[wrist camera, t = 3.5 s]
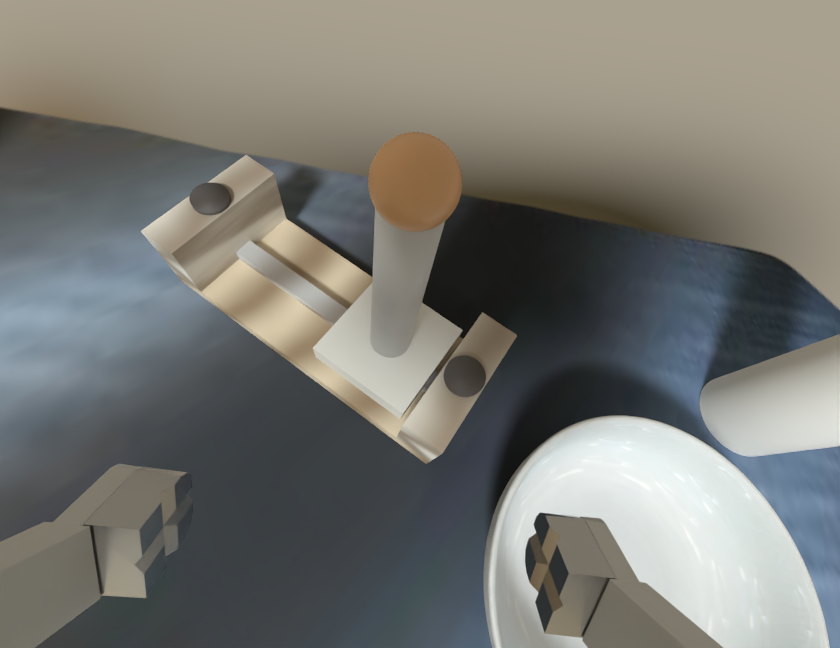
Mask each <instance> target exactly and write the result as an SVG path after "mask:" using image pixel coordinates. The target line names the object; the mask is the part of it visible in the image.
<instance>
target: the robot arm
mask: <svg viewBox="0 0 840 648" xmlns="http://www.w3.org/2000/svg"><path fill="white" fill-rule="evenodd" d="M191 488H192V479H191V475H190V474H188V473H185V472H178V471H171V470H164V469H156V468H149V467H138V466H131V465H124V464H118V465H115V466H113V467H111V468H110V469H109V470H108V471H107V472H105V473H104V474H103V475H102V476H101V477H100V478H99V479H98V480H97V481H96V482H95V483H94V484H93V485H92V486H91V487H90V488H89V489H88V490H86V491H85V492H84V493H83V494H82V495H81V496H80V497H79V498H78V499H77V500H76V501H75V502H74V503H73V504H72V505H71V506H70V507H68V508H67V509H66V510H65V511H64V512H63V513H62V514H61V515H60V516H59V517H58V518H57V519H56V520H55V521H54V522H43V523H41V524H39V525H37V526H34V527H32V528H30V529H28V530H26V531H23V532H21V533H19V534H17V535H15V536H13V537H10V538H8V539H6V540H4V541H2V542H0V648H35V647H36V646H37V645H39V644H40V643H41V642H43V641H44V640H45V639H47V638H48V637H49V636H51V635H52V634H53V633H55V632H56V631H57V630H59V629H60V628H61V627H63V626H64V625H66V624H67V623H68V622H70V621H71V620H72V619H74V618H75V617H76V616H78V615H79V614H80V613H82V612H83V611H84V610H86V609H87V608H88V607H90V606H91V605H92V604H94V603H95V602H96V601H98V600H99V599H100V598H101V595H103V596H121V597H138V598H147V596H148V595H149V593H150V591H151V590H152V588H153V587H154V585H155V584H156V582H157V581H158V579H159V577H160V576H161V574H162V573H163V571H164V570H165V568H166V556H167V555H168V554H170V553H171V552H173V551H174V550H176V549H177V548H179V546H180V544H181V543H182V541H183V539H184V538H185V536H186V534H187V531H188V529H189V526H190V523H191V520H192V514H193V502H192V501H191V500H190V498H189V497H188V496H187V493H188V492H189V491H190V489H191ZM533 525H534V527H535V530H536V533H535V534H534V535H533V536H531V537H530V538H529V539H528V542H527V546H526V549H525V566H526V572H527V576H528V579H529V583H530V584H531V585H532V586H533V587H534V588H535V589H536V590H537V591H538V596H537V598H536V601H535V603H536V607H537V610H538V613H539V617H540V620H541V623H542V626H543V630H544V633H545V634H553V635H562V636H570V637H578V638H583V639H582V641H583V642H584V644H585V645H586V646H587V647H588V648H723V647H722V646H721V645H720V644H718V643H717V642H716V641H715V640H714V639H713V638H711V637H710V636H709V635H708V634H707V633H705V632H704V631H703V630H702V629H701V628H699V627H698V626H697V625H696V624H695V623H693V622H692V621H691V620H690V619H689V618H688V617H686V616H685V615H684V614H683V613H682V612H680V611H679V610H678V609H677V608H676V607H674V606H673V605H672V604H671V603H670V602H668V601H667V600H666V599H665V598H664V597H663V596H661V595H660V594H659V593H658V592H657V591H655V590H654V589H653V588H652V587H651V586H649V585H648V584H647V583H644V582H639V580H638V578H637V576H636V575H635V573H634V571H633V569H632V568H631V566H630V564H629V563H628V561H627V559H626V557H625V556H624V554H623V552H622V550H621V549H620V547H619V545H618V544H617V542H616V540H615V538H614V537H613V535H612V533H611V531H610V530H609V528H608V526H607V524H606V523H605V522H604V521H603V520H602V519H601V518H591V517H578V516H570V515H560V514H550V513H539V514H538V515H537V516H536V519H535V522H534V524H533Z"/></svg>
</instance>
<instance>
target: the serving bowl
mask: <svg viewBox="0 0 840 648" xmlns="http://www.w3.org/2000/svg"><path fill="white" fill-rule="evenodd" d="M539 513H550V514H560V515H570V516H578V517H591V518H601V519H602V520H603V521H604V522H605V523H606V524H607V526H608V528H609V530H610V531H611V533H612V535H613V537H614V538H615V540H616V542H617V544H618V545H619V547H620V549H621V550H622V552H623V554H624V556H625V557H626V559H627V561H628V563H629V564H630V566H631V568H632V569H633V571H634V573H635V575H636V576H637V578H638V580H639V582H644V583H647V584H648V585H649V586H651V587H652V588H653V589H654V590H655V591H657V592H658V593H659V594H660V595H661V596H663V597H664V598H665V599H666V600H667V601H668V602H670V603H671V604H672V605H673V606H674V607H676V608H677V609H678V610H679V611H680V612H682V613H683V614H684V615H685V616H686V617H688V618H689V619H690V620H691V621H692V622H693V623H695V624H696V625H697V626H698V627H699V628H701V629H702V630H703V631H704V632H705V633H707V634H708V635H709V636H710V637H711V638H713V639H714V640H715V641H716V642H717V643H718V644H720V645H721V646H722V647H723V648H830V647H829V640H828V634H827V630H826V625H825V620H824V617H823V613H822V609H821V605H820V602H819V599H818V596H817V593H816V591H815V588H814V585H813V582H812V579H811V577H810V575H809V572H808V570H807V567H806V565H805V563H804V561H803V559H802V557H801V555H800V553H799V551H798V549H797V547H796V545H795V543H794V541H793V539H792V537H791V536H790V534H789V533H788V531H787V529H786V528H785V526H784V524H783V523H782V521H781V520H780V518H779V517H778V515H777V514H776V512H775V511H774V510H773V508H772V507H771V506H770V504H769V503H768V502H767V500H766V499H765V498H764V496H763V495H762V494H761V493H760V492H759V490H758V489H757V488H756V487H755V486H754V485H753V484H752V482H751V481H750V480H749V479H748V478H747V477H746V476H745V475H744V474H743V473H742V472H741V471H740V470H739V469H738V468H737V467H736V466H734V465H733V464H732V463H731V462H730V461H729V460H727V459H726V458H725V457H724V456H722V455H721V454H720V453H719V452H717V451H716V450H714V449H713V448H712V447H710V446H709V445H707V444H706V443H704V442H703V441H701V440H699V439H698V438H696V437H694V436H692V435H690V434H689V433H686V432H684V431H682V430H680V429H678V428H675V427H673V426H671V425H668V424H665V423H662V422H659V421H655V420H652V419H647V418H643V417H635V416H626V415H612V416H602V417H596V418H591V419H587V420H584V421H581V422H578V423H575V424H573V425H570V426H568V427H566V428H564V429H562V430H561V431H559V432H557V433H556V434H554V435H553V436H551V437H550V438H548V439H547V440H546V441H545V442H543V443H542V444H541V445H540V446H538V447H537V448H536V449H535V450H534V451H533V452H532V453H531V454H530V455H529V456H528V457H527V458H526V459H525V460H524V461H523V462H522V464H521V465H520V466H519V467H518V469H517V470H516V471H515V473H514V474H513V475H512V477H511V479H510V480H509V482H508V483H507V485H506V487H505V489H504V491H503V493H502V495H501V497H500V499H499V501H498V503H497V506H496V509H495V512H494V514H493V518H492V521H491V525H490V528H489V533H488V537H487V543H486V549H485V559H484V579H483V585H484V602H485V611H486V618H487V625H488V630H489V635H490V640H491V644H492V648H588V647H587V646H586V645H585V644H584V642H583V641H582V639H583V638H578V637H570V636H562V635H553V634H545V633H544V630H543V626H542V623H541V620H540V617H539V613H538V610H537V607H536V603H535V601H536V598H537V596H538V591H537V590H536V589H535V588H534V587H533V586H532V585H531V584H530V583H529V579H528V576H527V572H526V566H525V549H526V546H527V542H528V539H529V538H530V537H531V536H533V535H534V534H535V533H536V530H535V527H534V525H533V524H534V522H535V519H536V516H537V515H538V514H539Z"/></svg>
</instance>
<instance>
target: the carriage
mask: <svg viewBox="0 0 840 648" xmlns="http://www.w3.org/2000/svg"><path fill="white" fill-rule="evenodd" d="M368 185H369V193H370V197H371V200H372V202H373V205H374V207H375V226H374V253H373V279H372V283H371V285H370V286H369V287H368V288H367V289H366V290H365V291H364V292H363V293H362V294H361V296H360V297H359V298H358V299H357V300H356V301H355V302H354V303H353V304H352V305H351V306H350V308H349V309H348V310H347V311H346V312H345V313H344V314H343V315H342V316H341V317H340V319H339V320H338V321H337V322H336V323H335V324H334V325H333V326H332V327H331V328H330V330H329V331H328V332H327V333H326V334H325V335H324V336H323V337H322V338H321V339H320V340H319V342H318V343H317V344H316V345H315V346H314V347H313V351H314V354H315V357H316V358H317V359H319V360H320V361H321V362H323V363H324V364H325V365H327V366H328V367H329V368H331V369H332V370H334V371H335V372H336V373H338V374H339V375H340V376H342V377H343V378H344V379H346V380H347V381H348V382H350V383H351V384H353V385H354V386H355V387H357V388H358V389H359V390H361V391H362V392H363V393H365V394H366V395H367V396H369V397H370V398H372V399H373V400H374V401H376V402H377V403H378V404H380V405H381V406H382V407H384V408H385V409H386V410H388V411H389V412H391V413H392V414H393V415H395V416H396V417H397V418H399V419H401V418H402V416H403V415H404V414H405V412H406V411H407V409H408V408H409V407H410V405H411V404H412V403H413V401H414V400H415V398H416V397H417V396H418V394H419V393H420V391H421V390H422V389H423V387H424V386H425V384H426V383H427V382H428V380H429V379H430V377H431V376H432V375H433V373H434V372H435V370H436V369H437V368H438V366H439V365H440V363H441V362H442V361H443V359H444V358H445V356H446V355H447V354H448V352H449V351H450V349H451V348H452V347H453V345H454V344H455V342H456V341H457V340H458V338H459V336H460V334H461V333H462V331H463V330H462V329H460V328H459V327H457V326H456V325H454V324H453V323H451V322H450V321H448V320H447V319H446V318H444V317H443V316H441V315H440V314H438V313H437V312H435V311H434V310H432V309H431V308H429V307H428V306H426V305H425V304H423V303H422V300H423V297H424V293H425V290H426V286H427V283H428V279H429V276H430V272H431V269H432V265H433V262H434V258H435V255H436V251H437V248H438V244H439V241H440V237H441V234H442V230H443V227H444V223H445V220H446V219H447V218H448V217H449V216H450V215H451V214H452V213H453V211H454V210H455V208H456V206H457V204H458V202H459V199H460V196H461V191H462V174H461V169H460V166H459V163H458V160H457V159H456V157H455V155H454V153H453V152H452V150H450V148H449V147H448V146H447V145H446V144H445V143H444V142H443V141H441V140H440V139H438V138H436V137H434V136H432V135H429V134H426V133H420V132H410V133H405V134H401V135H398V136H396V137H394V138H392V139H391V140H389V141H388V142H387V143H385V144H384V145H383V146H382V147H381V148H380V150H379V151H378V152H377V154H376V155H375V157H374V160H373V161H372V164H371V167H370V171H369V178H368Z"/></svg>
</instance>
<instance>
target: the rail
mask: <svg viewBox="0 0 840 648" xmlns="http://www.w3.org/2000/svg"><path fill="white" fill-rule="evenodd" d="M141 232H142V233H143V234H144V235H145V237H146V238H147V239H148V240H149V242H150V243H151V244H152V245H153V246H154V248H155V249H156V250H157V251H158V253H159V254H160V255H161V256H162V257H163V259H164V260H165V261H166V262H167V264H168V265H169V266H170V267H171V268H172V270H173V271H174V272H175V273H176V275H177V276H178V277H179V278H180V279H181V281H182V282H184V283H185V284H186V285H188V286H189V287H190V288H192V289H193V290H194V291H196V292H197V293H198V294H200V295H201V296H202V297H204V298H205V299H206V300H208V301H209V302H210V303H212V304H213V305H214V306H216V307H217V308H218V309H220V310H221V311H222V312H224V313H225V314H226V315H228V316H229V317H230V318H232V319H233V320H234V321H236V322H237V323H238V324H240V325H241V326H242V327H244V328H245V329H246V330H248V331H249V332H250V333H252V334H253V335H254V336H256V337H257V338H258V339H260V340H261V341H262V342H264V343H265V344H266V345H268V346H269V347H270V348H272V349H273V350H274V351H276V352H277V353H278V354H280V355H281V356H283V357H284V358H285V359H287V360H288V361H289V362H291V363H292V364H293V365H295V366H296V367H297V368H299V369H300V370H301V371H303V372H304V373H305V374H307V375H308V376H309V377H311V378H312V379H313V380H315V381H316V382H317V383H319V384H320V385H321V386H323V387H324V388H325V389H327V390H328V391H329V392H331V393H332V394H333V395H335V396H336V397H337V398H339V399H340V400H341V401H343V402H344V403H345V404H347V405H348V406H349V407H351V408H352V409H353V410H355V411H356V412H357V413H359V414H360V415H361V416H363V417H364V418H365V419H367V420H368V421H369V422H371V423H372V424H373V425H375V426H376V427H377V428H379V429H380V430H381V431H383V432H384V433H385V434H387V435H388V436H389V437H391V438H392V439H393V440H395V441H396V442H397V443H399V444H400V445H401V446H403V447H404V448H405V449H407V450H408V451H410V452H411V453H412V454H414V455H415V456H416V457H418V458H419V459H420V460H422V461H423V462H424V463H426V464H427V463H428V462H430V461H431V460H433V459H435V458H436V457H438V456H439V455H441V454H442V453H443V452H444V450H445V448H446V447H447V445H448V444H449V442H450V441H451V439H452V437H453V436H454V434H455V433H456V431H457V430H458V428H459V426H460V425H461V423H462V422H463V420H464V419H465V417H466V415H467V414H468V412H469V411H470V409H471V407H472V406H473V404H474V403H475V401H476V400H477V398H478V396H479V395H480V393H481V392H482V390H483V389H484V387H485V385H486V384H487V382H488V381H489V379H490V378H491V376H492V374H493V373H494V371H495V370H496V368H497V367H498V365H499V363H500V362H501V360H502V359H503V357H504V355H505V354H506V352H507V351H508V349H509V348H510V346H511V344H512V343H513V341H514V340H515V338H516V337H517V335H516V334H514V333H513V332H511V331H510V330H508V329H507V328H505V327H504V326H502V325H501V324H499V323H498V322H496V321H495V320H493V319H492V318H490V317H489V316H487V315H486V314H484V313H483V312H482V314H481V315H480V316H479V318H478V319H477V321H476V322H475V323H474V325H473V326H472V328H471V329H470V330H469V332H468V333H467V335H466V336H465V338H464V339H462V338H461V337H459V338H458V340H457V341H456V342H455V344H454V345H453V347H452V348H451V349H450V351H449V352H448V354H447V355H446V356H445V358H444V359H443V361H442V362H441V363H440V365H439V366H438V368H437V369H436V370H435V372H434V373H433V375H432V376H431V377H430V379H429V380H428V382H427V383H426V384H425V386H424V387H423V389H422V390H421V391H420V393H419V394H418V396H417V397H416V398H415V400H414V401H413V403H412V404H411V405H410V407H409V408H408V409H407V411H406V412H405V414H404V415H403V416H402V418H401V419H399V418H397V417H396V416H395V415H393V414H392V413H391V412H389V411H388V410H386V409H385V408H384V407H382V406H381V405H380V404H378V403H377V402H376V401H374V400H373V399H372V398H370V397H369V396H367V395H366V394H365V393H363V392H362V391H361V390H359V389H358V388H357V387H355V386H354V385H353V384H351V383H350V382H348V381H347V380H346V379H344V378H343V377H342V376H340V375H339V374H338V373H336V372H335V371H334V370H332V369H331V368H329V367H328V366H327V365H325V364H324V363H323V362H321V361H320V360H319V359H317V358H316V357H315V354H314V351H313V347H314V346H315V345H316V344H317V343H318V342H319V340H320V339H321V338H322V337H323V336H324V335H325V334H326V333H327V332H328V331H329V330H330V328H331V327H332V326H333V325H334V324H335V323H336V322H337V321H338V320H339V319H340V317H341V316H342V315H343V314H344V313H345V312H346V311H347V310H348V309H349V308H350V306H351V305H352V304H353V303H354V302H355V301H356V300H357V299H358V298H359V297H360V296H361V294H362V293H363V292H364V291H365V290H366V289H367V288H368V287H369V286H370V285H371V283H372V279H373V277H371V276H370V275H368V274H367V273H365V272H364V271H362V270H361V269H359V268H358V267H357V266H355V265H354V264H352V263H351V262H349V261H348V260H346V259H345V258H343V257H342V256H340V255H339V254H337V253H336V252H335V251H333V250H332V249H330V248H329V247H327V246H326V245H324V244H323V243H321V242H320V241H318V240H317V239H315V238H314V237H313V236H311V235H310V234H308V233H307V232H305V231H304V230H302V229H301V228H299V227H298V226H296V225H295V224H294V223H292V222H291V221H289V220H288V219H286V216H285V212H284V208H283V205H282V201H281V197H280V194H279V190H278V186H277V183H276V179H275V175H274V173H272V172H271V171H269V170H268V169H266V168H265V167H263V166H262V165H260V164H259V163H257V162H256V161H254V160H253V159H251V158H250V157H248V156H247V155H245V156H244V157H243V158H241V159H240V160H238V161H237V162H236V163H234V164H233V165H231V166H230V167H229V168H227V169H226V170H225V171H223V172H222V173H220V174H219V175H218V176H216V177H215V178H214V179H212V180H211V181H209V182H208V183H204V184H201V185H199V186H197V187H196V188H194V189H193V190H192V192H191V194H190V196H189V197H187V198H186V199H184V200H183V201H182V202H180V203H179V204H178V205H176V206H175V207H173V208H172V209H171V210H169V211H168V212H167V213H165V214H164V215H162V216H161V217H160V218H158V219H157V220H155V221H154V222H153V223H151V224H150V225H149V226H147V227H146V228H144V229H143V230H142V231H141Z"/></svg>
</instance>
